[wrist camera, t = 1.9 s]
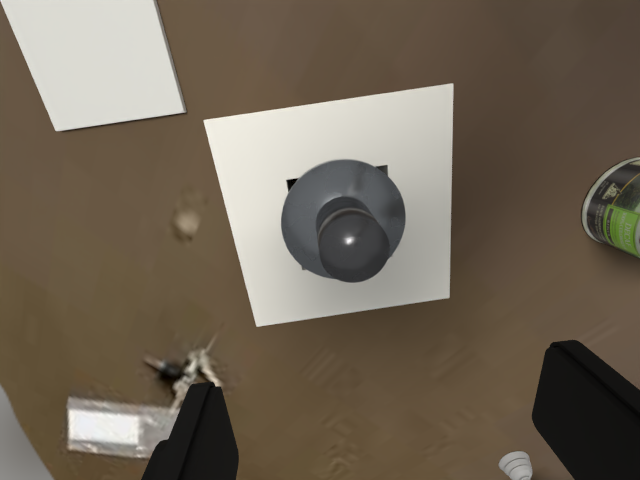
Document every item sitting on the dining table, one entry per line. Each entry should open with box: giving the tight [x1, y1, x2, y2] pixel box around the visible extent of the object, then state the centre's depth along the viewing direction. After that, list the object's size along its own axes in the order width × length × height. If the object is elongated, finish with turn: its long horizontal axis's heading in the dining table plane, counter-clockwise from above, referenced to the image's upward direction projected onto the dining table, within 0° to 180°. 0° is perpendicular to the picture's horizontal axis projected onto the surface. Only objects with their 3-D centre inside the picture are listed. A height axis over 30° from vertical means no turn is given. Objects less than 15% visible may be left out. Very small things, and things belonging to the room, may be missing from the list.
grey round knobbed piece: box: [281, 159, 406, 283], centre depth 28 cm, size 11×11×12 cm
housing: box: [204, 83, 453, 327], centre depth 32 cm, size 20×20×6 cm
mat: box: [0, 0, 187, 131], centre depth 28 cm, size 12×12×1 cm
